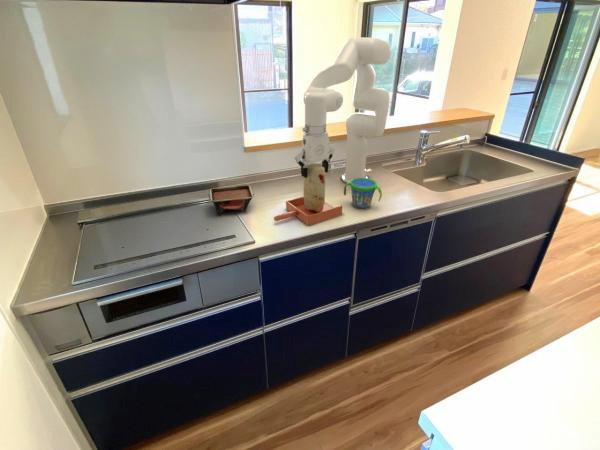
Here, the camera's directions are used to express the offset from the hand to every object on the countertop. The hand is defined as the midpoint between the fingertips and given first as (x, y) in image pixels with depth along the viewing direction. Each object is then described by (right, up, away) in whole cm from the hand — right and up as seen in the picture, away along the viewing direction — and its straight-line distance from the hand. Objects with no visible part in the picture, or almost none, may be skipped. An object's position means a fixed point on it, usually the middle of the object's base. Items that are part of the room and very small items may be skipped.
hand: (314, 174), depth 132 cm
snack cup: (+20, -11, +13) cm, 27 cm away
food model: (0, -14, +8) cm, 16 cm away
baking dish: (-34, -12, +12) cm, 38 cm away
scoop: (-4, -16, +6) cm, 17 cm away
